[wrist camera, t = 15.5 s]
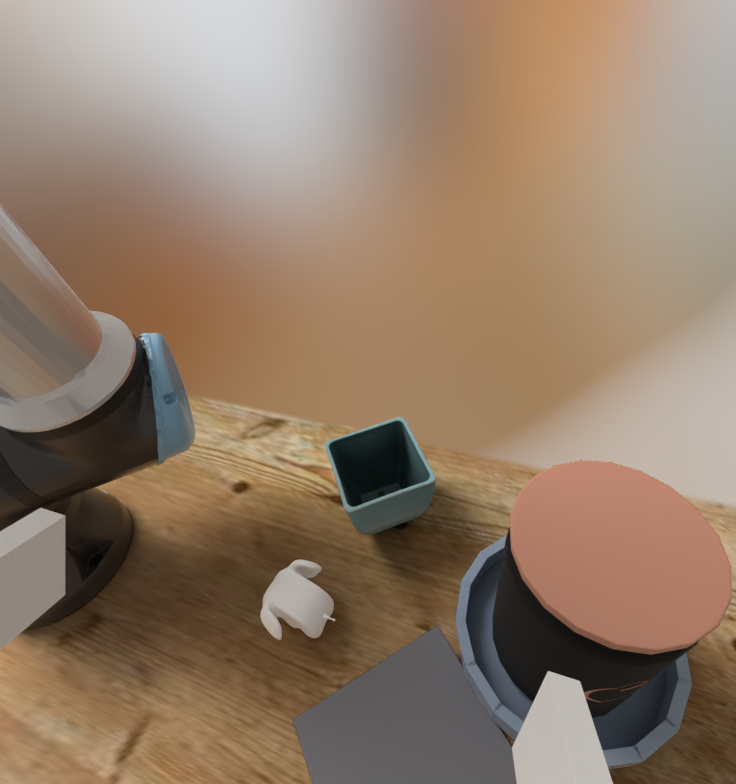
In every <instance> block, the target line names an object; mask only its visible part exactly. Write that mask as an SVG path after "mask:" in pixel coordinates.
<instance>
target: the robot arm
mask: <svg viewBox="0 0 736 784" xmlns="http://www.w3.org/2000/svg"><path fill="white" fill-rule="evenodd" d="M194 439H195V427H194V421H193V417H192V412H191V409H190V405H189V401H188V398H187V395H186V391H185V389H184V385H183V382H182V379H181V376H180V373H179V370H178V368H177V365H176V363H175V360H174V357H173V355H172V352H171V350H170V348H169V346H168V344H167V342H166V340H165V339H164V337H163V336H162V335H160V334H157V333H149V334H148V333H144V334H141V336H140V337H138V338H136V337H135V336H134V335H133V333H132V332H131V331H130V329H129V328H128V327H127V326H126V325H125V324H124V323H123V322H122V321H121V320H120V319H118V318H116V317H114V316H112V315H109V314H106V313H102V312H96V311H89V310H88V309H87V308H86V306H85V305H84V304H83V303H82V301H81V300H80V299H79V298H78V297H77V295H76V294H75V293H74V292H73V291H72V289H71V288H70V287H69V286H68V285H67V283H66V282H65V281H64V280H63V279H62V277H61V276H60V275H59V274H58V272H56V270H55V269H54V268H53V266H52V265H51V264H50V263H49V262H48V260H47V259H46V258H45V257H44V256H43V254H42V253H41V252H40V251H39V250H38V248H37V247H36V246H35V245H34V244H33V242H32V241H31V240H30V239H29V237H28V236H27V235H26V234H25V233H24V232H23V231H22V229H21V228H20V227H19V225H18V224H17V223H16V222H15V221H14V219H13V218H12V217H11V216H10V215H9V213H8V212H7V211H6V210H5V209H4V207H3V206H2V205H1V204H0V650H1V649H2V648H4V647H5V646H6V645H7V644H8V643H9V642H11V641H12V640H13V639H14V638H15V637H17V636H18V635H19V634H20V633H21V632H22V631H24V630H25V629H28V628H36V627H41V626H44V625H47V624H50V623H53V622H55V621H58V620H60V619H62V618H64V617H66V616H68V615H69V614H71V613H73V612H74V611H76V610H77V609H79V608H80V607H82V606H83V605H84V604H86V603H87V602H88V601H89V600H91V599H92V598H93V597H94V596H95V595H96V594H97V593H98V592H99V591H100V590H101V589H102V588H103V587H104V586H105V585H106V584H107V583H108V582H109V580H110V579H111V578H112V577H113V575H114V574H115V573H116V571H117V570H118V568H119V567H120V565H121V563H122V562H123V560H124V558H125V556H126V554H127V551H128V549H129V546H130V543H131V538H132V532H133V525H132V519H131V516H130V513H129V511H128V510H127V508H126V507H125V506H124V505H123V504H122V503H121V502H120V501H119V500H118V499H117V498H116V497H114V496H113V495H112V494H110V493H108V492H106V491H104V490H100V489H97V488H94V487H97V486H100V485H102V484H105V483H108V482H110V481H113V480H116V479H118V478H121V477H124V476H127V475H129V474H132V473H135V472H137V471H140V470H143V469H145V468H148V467H151V466H153V465H156V464H157V465H159V464H162V463H163V462H164V460H166V459H168V458H171V457H173V456H175V455H177V454H180V453H182V452H184V451H186V450H187V449H189V448H190V447H191V445H192V444H193V442H194ZM512 753H513V760H514V768H515V775H516V782H517V784H613V782H612V779H611V776H610V773H609V769H608V766H607V763H606V760H605V757H604V754H603V751H602V748H601V745H600V742H599V738H598V735H597V732H596V729H595V726H594V723H593V720H592V717H591V714H590V711H589V707H588V704H587V701H586V698H585V695H584V692H583V689H582V686H581V683H580V681H578V680H575V679H572V678H569V677H566V676H563V675H559V674H556V673H553V672H550V671H548V672H547V674H546V676H545V678H544V680H543V682H542V685H541V687H540V689H539V691H538V693H537V695H536V697H535V700H534V702H533V704H532V706H531V708H530V710H529V712H528V714H527V717H526V719H525V721H524V723H523V725H522V727H521V729H520V732H519V734H518V736H517V738H516V740H515V742H514V744H513V747H512Z"/></svg>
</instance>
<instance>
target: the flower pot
mask: <svg viewBox="0 0 736 784" xmlns="http://www.w3.org/2000/svg"><path fill="white" fill-rule="evenodd" d="M324 446H325V449H326V452H327V455H328V458H329V461H330V463H331V466H332V469H333V472H334V476H335V479H336V482H337V485H338V488H339V491H340V495H341V498H342V501H343V506H344V508H345V510H346V512H347V514H348V516H349V517H350V519H351V521H352V523H353V525H354V526H355V528H356V529H357V530H358V531H359V532H360V533H362V534H366V535H370V534H375V533H378V532H380V531H383V530H386V529H388V528H391V527H394V526H396V525H399V524H402V523H405V522H407V521H410V520H413V519H415V518H417V517H419V516H421V515H422V514H423V513H425V512H426V511H427V509H428V508H429V506H430V504H431V501H432V497H433V492H434V487H435V481H436V476H435V474H434V472H433V470H432V468H431V466H430V465H429V463H428V461H427V459H426V457H425V456H424V454H423V452H422V450H421V448H420V446H419V445H418V442H417V441H416V439H415V437H414V435H413V433H412V431H411V429H410V427H409V425H408V424H407V422H406V420H405V419H404V418H403V417H397V418H394V419H391V420H388V421H385V422H382V423H379V424H377V425H374V426H371V427H368V428H365V429H362V430H359V431H356V432H353V433H350V434H346V435H343V436H340V437H337V438H334V439H331V440H329V441H327V442H325V444H324ZM380 493H383V496H381V497H380V496H379V494H380Z"/></svg>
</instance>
